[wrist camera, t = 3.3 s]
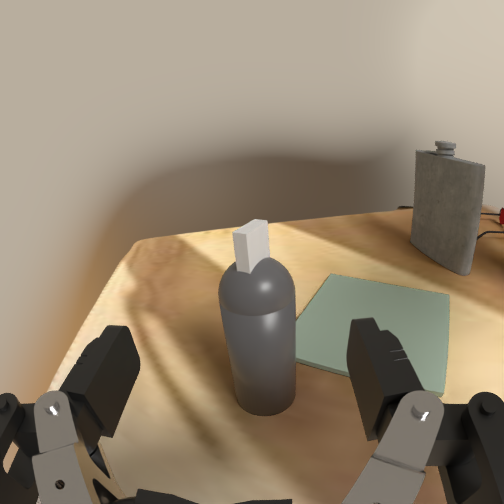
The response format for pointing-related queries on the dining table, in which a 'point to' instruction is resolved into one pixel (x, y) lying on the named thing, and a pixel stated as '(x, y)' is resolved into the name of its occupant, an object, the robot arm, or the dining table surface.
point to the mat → (387, 318)
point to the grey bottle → (259, 323)
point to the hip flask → (447, 207)
